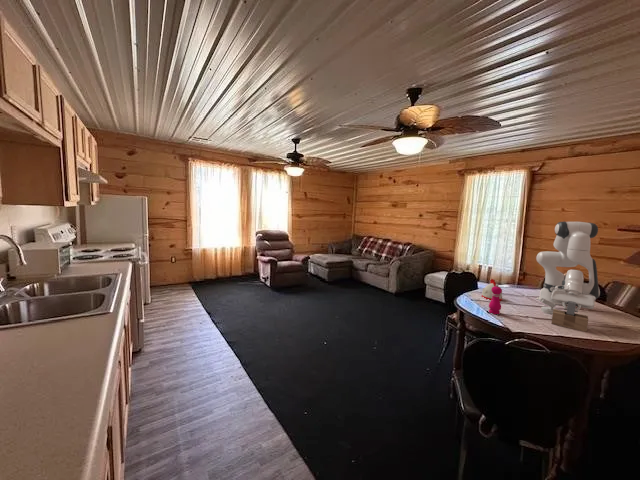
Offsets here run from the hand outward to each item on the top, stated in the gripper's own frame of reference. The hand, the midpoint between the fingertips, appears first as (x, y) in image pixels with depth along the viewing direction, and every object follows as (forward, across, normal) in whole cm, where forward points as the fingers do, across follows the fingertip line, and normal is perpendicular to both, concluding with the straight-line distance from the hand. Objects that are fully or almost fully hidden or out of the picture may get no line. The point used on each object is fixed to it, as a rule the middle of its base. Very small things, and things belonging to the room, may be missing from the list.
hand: (570, 310), depth 172 cm
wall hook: (-8, +11, -23) cm, 26 cm away
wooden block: (+6, 0, -8) cm, 10 cm away
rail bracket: (+3, 0, -4) cm, 5 cm away
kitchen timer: (-12, +46, -27) cm, 55 cm away
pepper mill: (+13, +38, -1) cm, 40 cm away
